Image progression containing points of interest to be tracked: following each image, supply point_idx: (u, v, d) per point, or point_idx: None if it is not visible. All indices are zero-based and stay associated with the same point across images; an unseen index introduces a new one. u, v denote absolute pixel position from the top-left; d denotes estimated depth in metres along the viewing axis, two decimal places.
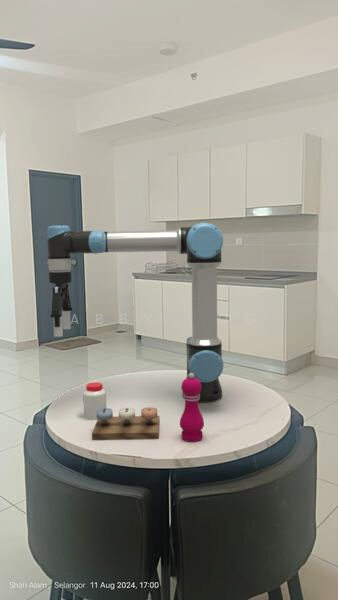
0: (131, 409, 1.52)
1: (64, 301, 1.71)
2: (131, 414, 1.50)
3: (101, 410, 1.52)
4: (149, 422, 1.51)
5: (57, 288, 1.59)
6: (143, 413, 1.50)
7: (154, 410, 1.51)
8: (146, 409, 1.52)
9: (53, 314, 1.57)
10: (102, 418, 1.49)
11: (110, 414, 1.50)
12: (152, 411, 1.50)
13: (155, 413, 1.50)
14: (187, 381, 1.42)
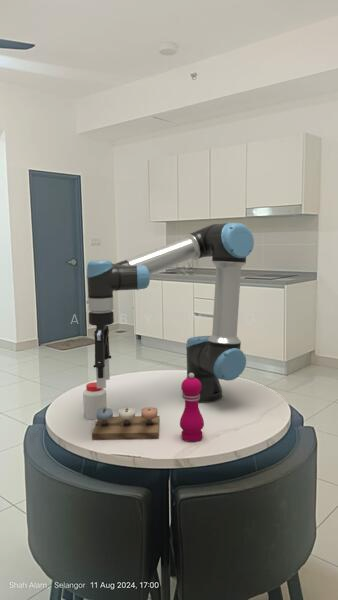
0: (131, 409, 1.52)
1: None
2: (131, 414, 1.50)
3: (101, 410, 1.52)
4: (149, 422, 1.51)
5: (99, 335, 1.42)
6: (143, 413, 1.50)
7: (154, 410, 1.51)
8: (146, 409, 1.52)
9: (97, 365, 1.42)
10: (102, 418, 1.49)
11: (110, 414, 1.50)
12: (152, 411, 1.50)
13: (155, 413, 1.50)
14: (187, 381, 1.42)
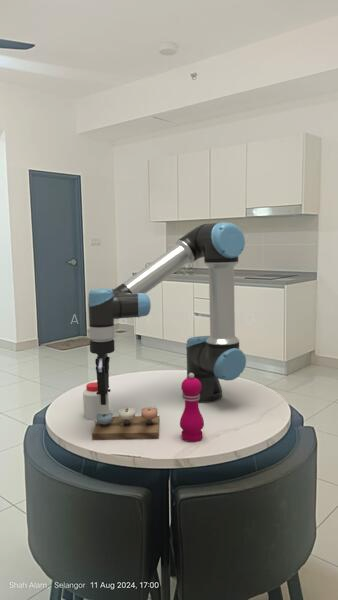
0: (131, 409, 1.52)
1: None
2: (131, 414, 1.50)
3: (101, 414, 1.52)
4: (149, 422, 1.51)
5: (101, 369, 1.44)
6: (143, 413, 1.50)
7: (154, 410, 1.51)
8: (146, 409, 1.52)
9: (100, 392, 1.47)
10: (102, 422, 1.49)
11: (110, 418, 1.50)
12: (152, 411, 1.50)
13: (155, 413, 1.50)
14: (187, 381, 1.42)
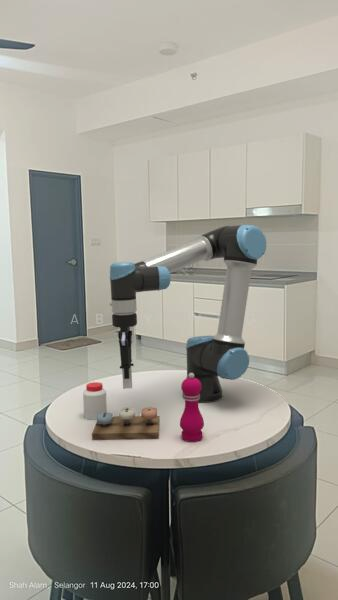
0: (131, 409, 1.52)
1: None
2: (131, 414, 1.50)
3: (101, 414, 1.52)
4: (149, 422, 1.51)
5: (124, 342, 1.43)
6: (143, 413, 1.50)
7: (154, 410, 1.51)
8: (146, 409, 1.52)
9: (123, 366, 1.47)
10: (102, 422, 1.50)
11: (110, 418, 1.50)
12: (152, 411, 1.50)
13: (155, 413, 1.50)
14: (187, 381, 1.42)
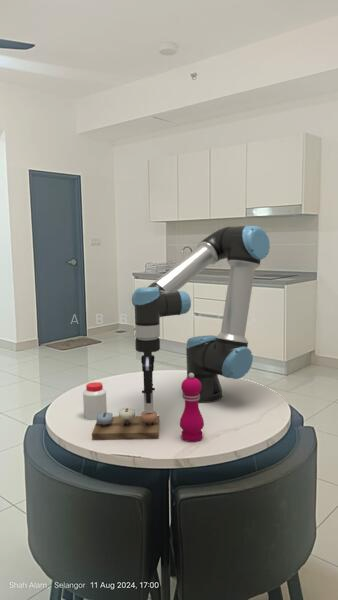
0: (131, 409, 1.52)
1: None
2: (131, 414, 1.50)
3: (101, 414, 1.52)
4: None
5: (148, 367, 1.44)
6: (143, 416, 1.50)
7: (154, 413, 1.51)
8: None
9: (146, 391, 1.47)
10: (102, 422, 1.50)
11: (110, 418, 1.50)
12: (152, 414, 1.50)
13: (155, 416, 1.50)
14: (187, 381, 1.42)
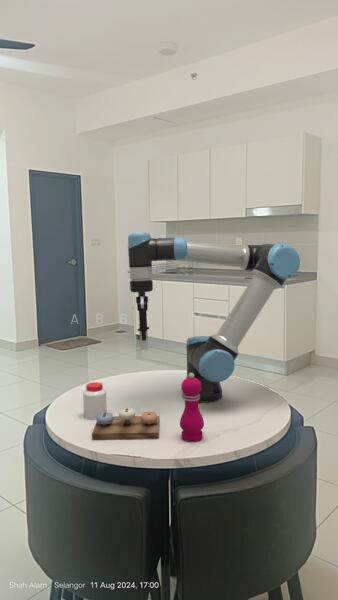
0: (131, 409, 1.52)
1: None
2: (131, 414, 1.50)
3: (101, 414, 1.52)
4: None
5: (143, 305, 1.56)
6: (143, 417, 1.50)
7: (154, 414, 1.51)
8: (146, 413, 1.52)
9: (141, 328, 1.60)
10: (102, 422, 1.50)
11: (110, 418, 1.50)
12: (152, 415, 1.50)
13: (155, 417, 1.50)
14: (187, 381, 1.42)
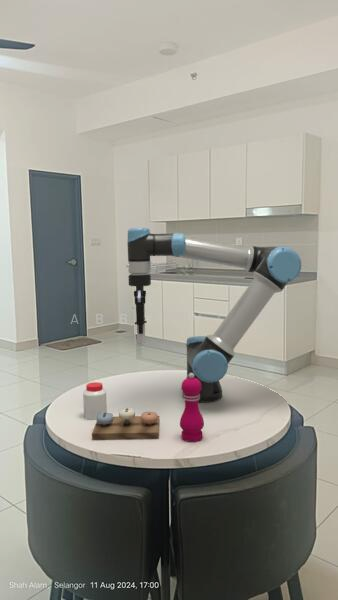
0: (131, 409, 1.52)
1: None
2: (131, 414, 1.50)
3: (101, 414, 1.52)
4: None
5: (140, 298, 1.59)
6: (143, 417, 1.50)
7: (154, 414, 1.51)
8: (146, 413, 1.52)
9: (138, 321, 1.62)
10: (102, 422, 1.50)
11: (110, 418, 1.50)
12: (152, 415, 1.50)
13: (155, 417, 1.50)
14: (187, 381, 1.42)
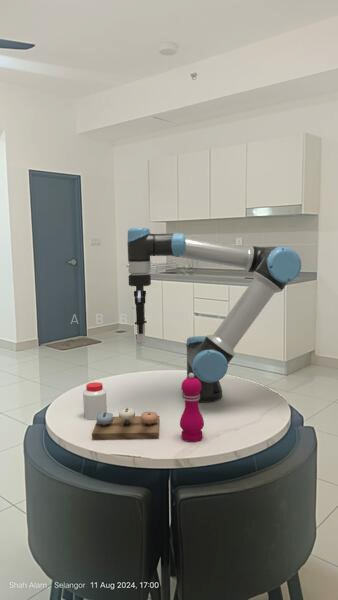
0: (131, 409, 1.52)
1: None
2: (131, 414, 1.50)
3: (101, 414, 1.52)
4: None
5: (140, 298, 1.59)
6: (143, 417, 1.50)
7: (154, 414, 1.51)
8: (146, 413, 1.52)
9: (138, 321, 1.62)
10: (102, 422, 1.50)
11: (110, 418, 1.50)
12: (152, 415, 1.50)
13: (155, 417, 1.50)
14: (187, 381, 1.42)
